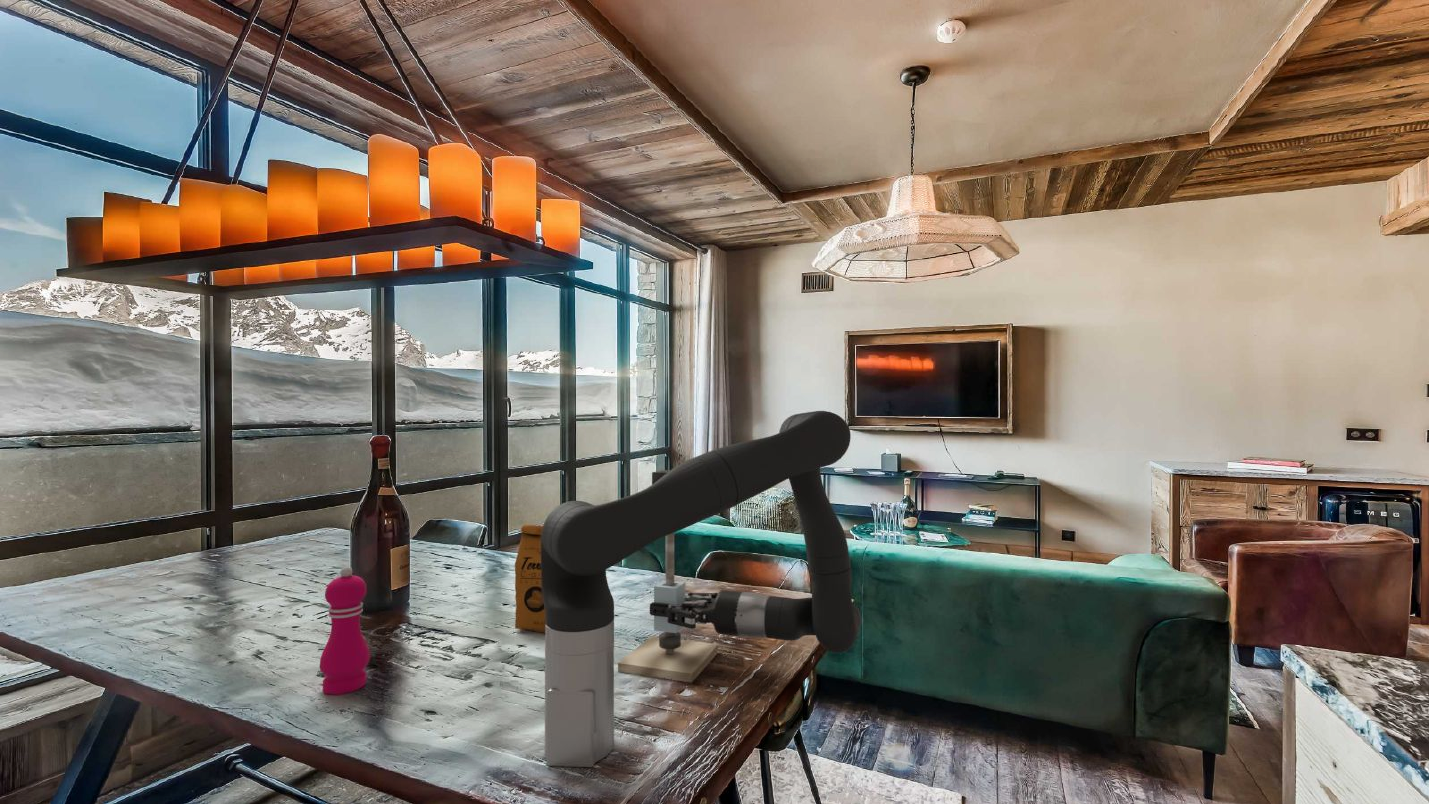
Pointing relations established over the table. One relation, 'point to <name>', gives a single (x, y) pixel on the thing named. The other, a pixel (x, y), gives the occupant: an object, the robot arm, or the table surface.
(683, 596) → the sleeve
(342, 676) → the pepper mill
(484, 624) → the table surface
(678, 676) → the rod stand
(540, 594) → the coffee package
